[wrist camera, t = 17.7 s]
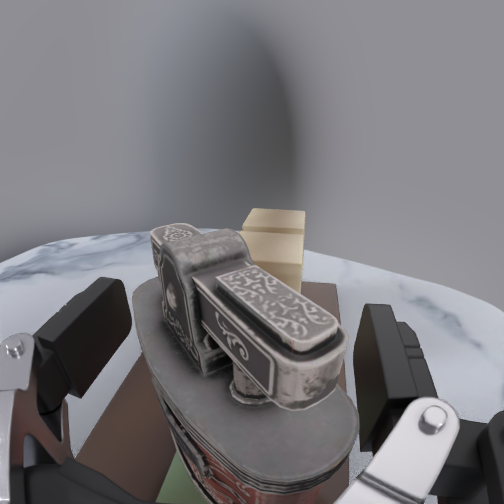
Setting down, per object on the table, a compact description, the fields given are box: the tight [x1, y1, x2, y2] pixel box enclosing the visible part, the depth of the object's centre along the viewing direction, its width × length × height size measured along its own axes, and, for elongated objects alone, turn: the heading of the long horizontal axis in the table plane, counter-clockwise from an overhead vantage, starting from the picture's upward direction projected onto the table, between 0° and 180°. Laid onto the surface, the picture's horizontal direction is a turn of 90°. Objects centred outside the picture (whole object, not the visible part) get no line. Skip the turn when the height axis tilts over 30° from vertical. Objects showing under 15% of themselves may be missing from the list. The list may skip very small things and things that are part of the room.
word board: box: [75, 208, 349, 504], centre depth 15 cm, size 12×22×7 cm, turn 170°
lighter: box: [132, 223, 360, 504], centre depth 8 cm, size 8×3×10 cm, turn 34°
